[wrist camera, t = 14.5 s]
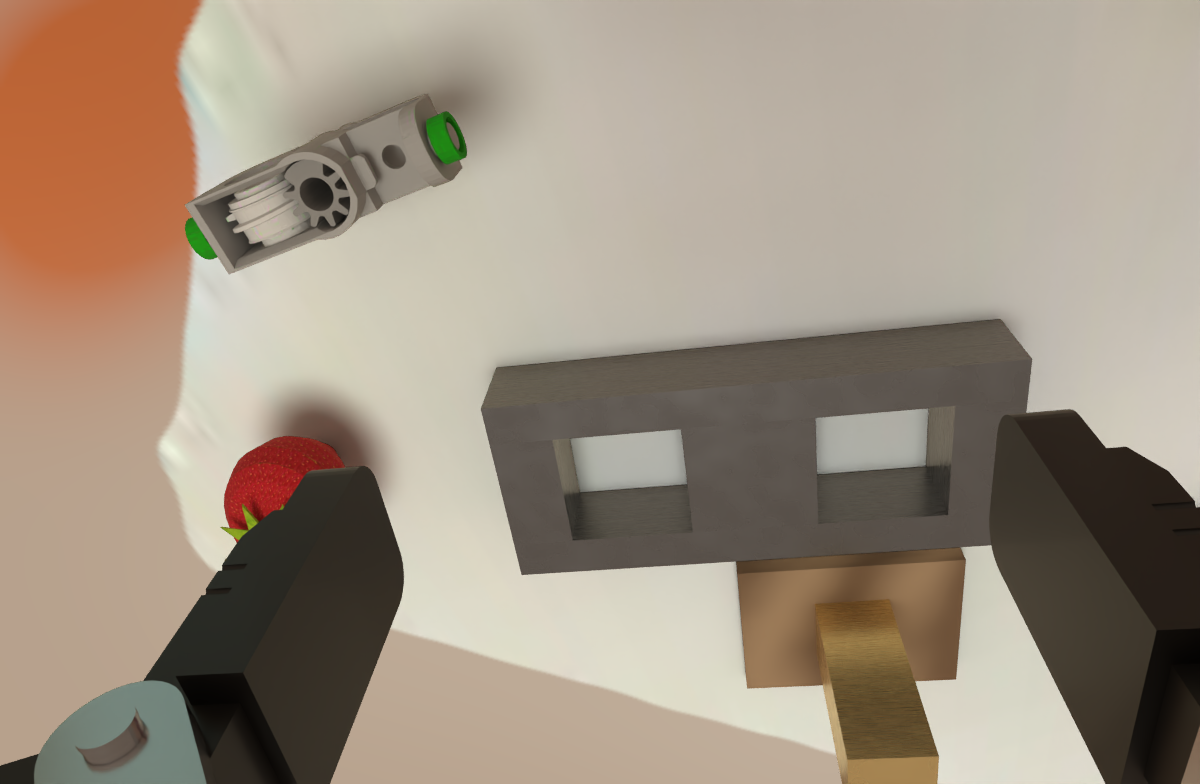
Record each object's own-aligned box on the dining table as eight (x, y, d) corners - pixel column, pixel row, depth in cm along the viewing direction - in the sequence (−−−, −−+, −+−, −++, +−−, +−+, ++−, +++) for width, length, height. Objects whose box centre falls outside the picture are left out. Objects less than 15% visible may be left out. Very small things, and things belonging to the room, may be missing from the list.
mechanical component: (516, 119, 36) (468, 185, 28) (313, 201, 39) (211, 285, 30) (486, 50, 35) (427, 96, 26) (279, 139, 38) (162, 209, 29)
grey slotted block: (1000, 319, 39) (1032, 359, 36) (984, 493, 44) (1010, 543, 41) (496, 367, 43) (480, 408, 39) (532, 526, 47) (521, 574, 44)
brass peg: (889, 599, 47) (938, 756, 38) (888, 651, 49) (935, 812, 40) (814, 603, 47) (847, 759, 39) (816, 655, 49) (848, 814, 41)
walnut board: (960, 547, 46) (965, 559, 45) (951, 665, 50) (956, 679, 49) (736, 561, 48) (737, 573, 47) (745, 675, 52) (747, 688, 51)
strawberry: (363, 384, 44) (286, 502, 35) (401, 502, 47) (341, 636, 39) (255, 395, 44) (154, 513, 36) (301, 510, 48) (220, 643, 39)
